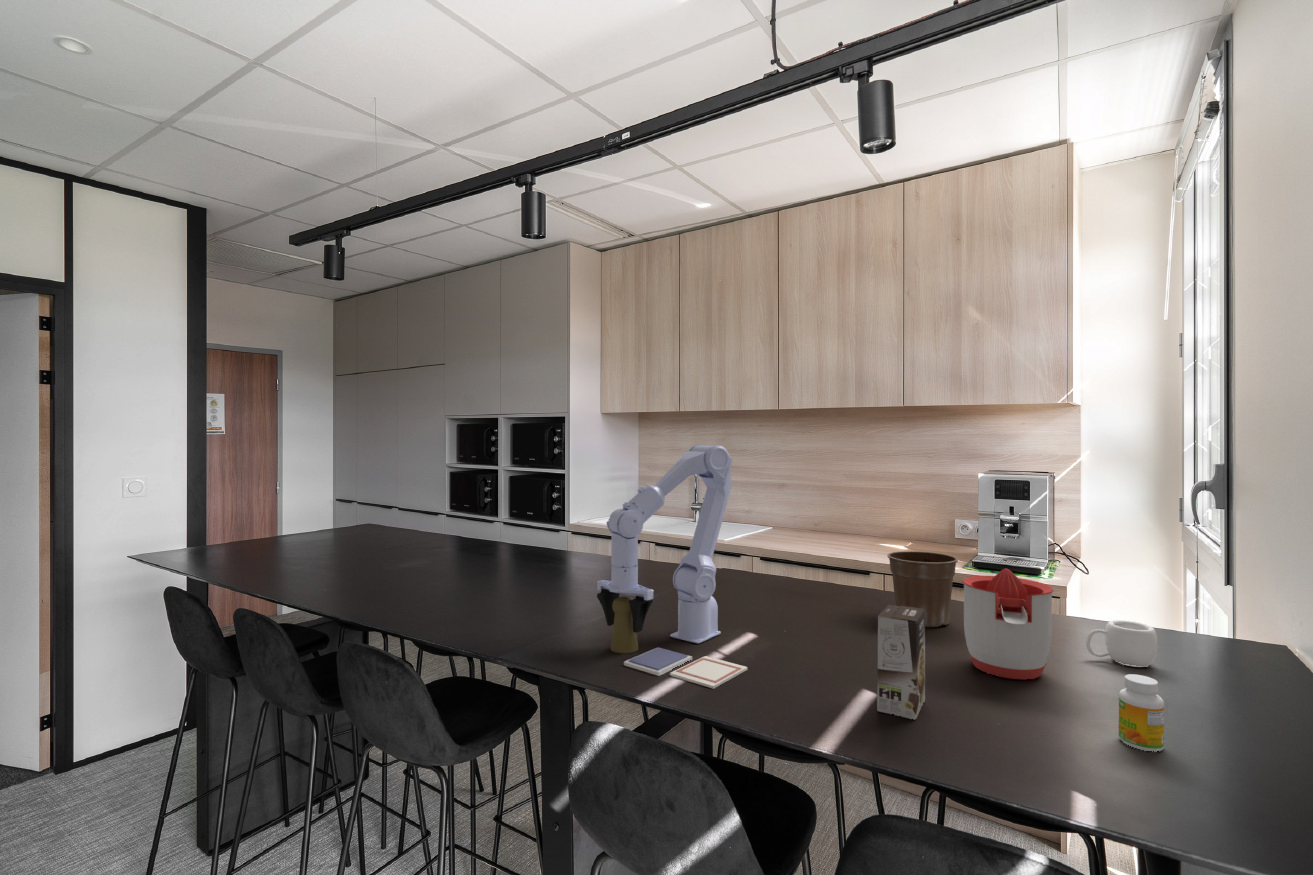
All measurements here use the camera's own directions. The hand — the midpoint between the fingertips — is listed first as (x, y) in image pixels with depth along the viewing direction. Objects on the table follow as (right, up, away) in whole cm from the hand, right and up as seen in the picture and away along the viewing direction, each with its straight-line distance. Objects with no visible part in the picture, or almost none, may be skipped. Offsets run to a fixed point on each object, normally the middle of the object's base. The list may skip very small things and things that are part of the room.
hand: (624, 627), depth 135 cm
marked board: (+17, -4, -14) cm, 22 cm away
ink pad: (+7, -4, -8) cm, 12 cm away
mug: (+101, -5, -8) cm, 102 cm away
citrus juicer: (+75, -5, -13) cm, 77 cm away
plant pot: (+73, -5, +21) cm, 76 cm away
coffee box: (+49, -5, -29) cm, 57 cm away
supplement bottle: (+79, -5, -42) cm, 90 cm away
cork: (0, -5, 0) cm, 5 cm away
